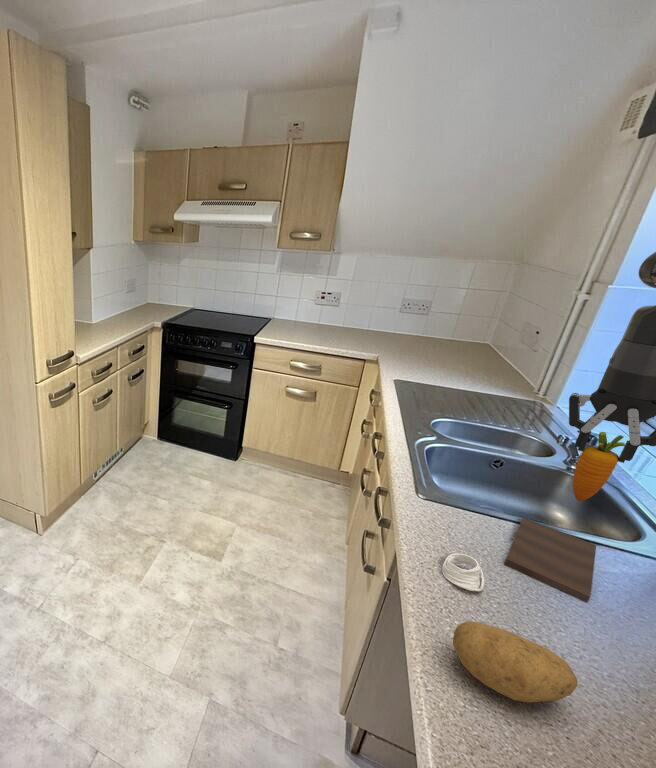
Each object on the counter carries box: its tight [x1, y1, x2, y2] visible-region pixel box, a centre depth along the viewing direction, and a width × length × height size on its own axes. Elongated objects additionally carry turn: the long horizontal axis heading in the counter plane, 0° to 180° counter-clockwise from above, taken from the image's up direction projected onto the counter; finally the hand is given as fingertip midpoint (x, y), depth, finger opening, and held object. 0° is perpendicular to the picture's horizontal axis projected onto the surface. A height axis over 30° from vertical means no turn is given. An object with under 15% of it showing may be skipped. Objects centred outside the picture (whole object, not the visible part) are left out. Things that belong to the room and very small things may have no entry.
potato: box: [452, 620, 579, 703], centre depth 60 cm, size 10×14×8 cm
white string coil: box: [441, 552, 485, 592], centre depth 79 cm, size 8×7×5 cm
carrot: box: [572, 431, 626, 502], centre depth 77 cm, size 5×5×15 cm
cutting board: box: [503, 516, 597, 603], centre depth 85 cm, size 20×12×2 cm, turn 132°
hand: (600, 454), depth 76 cm, fingers closed on carrot, 4 cm apart
